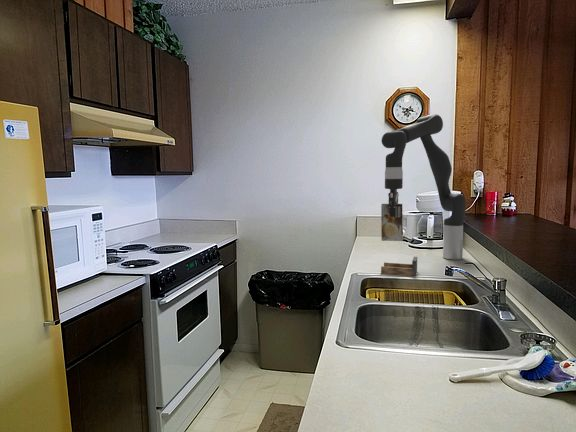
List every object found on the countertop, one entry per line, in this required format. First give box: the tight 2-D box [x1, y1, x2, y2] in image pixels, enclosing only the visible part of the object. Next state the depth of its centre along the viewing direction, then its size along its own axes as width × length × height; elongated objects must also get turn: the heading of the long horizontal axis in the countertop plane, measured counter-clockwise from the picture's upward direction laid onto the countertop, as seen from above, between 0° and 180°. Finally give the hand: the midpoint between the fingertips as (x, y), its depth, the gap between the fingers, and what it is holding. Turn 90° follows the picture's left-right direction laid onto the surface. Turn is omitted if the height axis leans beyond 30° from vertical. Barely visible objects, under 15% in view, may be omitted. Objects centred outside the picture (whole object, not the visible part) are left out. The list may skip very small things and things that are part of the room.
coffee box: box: [380, 203, 404, 242], centre depth 177 cm, size 9×6×16 cm
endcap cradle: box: [380, 256, 418, 277], centre depth 178 cm, size 14×9×7 cm, turn 69°
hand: (393, 215), depth 177 cm, fingers closed on coffee box, 6 cm apart
